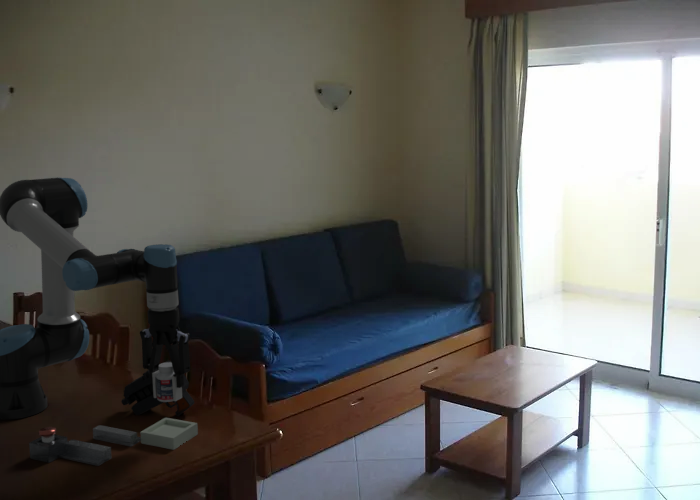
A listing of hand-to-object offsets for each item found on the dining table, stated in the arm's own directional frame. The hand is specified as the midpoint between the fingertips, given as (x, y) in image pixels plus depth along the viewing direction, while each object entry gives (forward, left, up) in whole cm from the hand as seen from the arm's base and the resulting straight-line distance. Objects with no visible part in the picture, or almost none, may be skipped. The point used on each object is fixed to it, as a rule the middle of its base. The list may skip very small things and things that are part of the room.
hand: (168, 397), depth 181 cm
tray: (0, 0, -11) cm, 11 cm away
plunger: (-21, -19, -10) cm, 30 cm away
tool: (-14, +13, -11) cm, 22 cm away
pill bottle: (0, 0, 0) cm, 0 cm away
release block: (-21, -19, -11) cm, 30 cm away
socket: (-12, -11, -11) cm, 20 cm away
